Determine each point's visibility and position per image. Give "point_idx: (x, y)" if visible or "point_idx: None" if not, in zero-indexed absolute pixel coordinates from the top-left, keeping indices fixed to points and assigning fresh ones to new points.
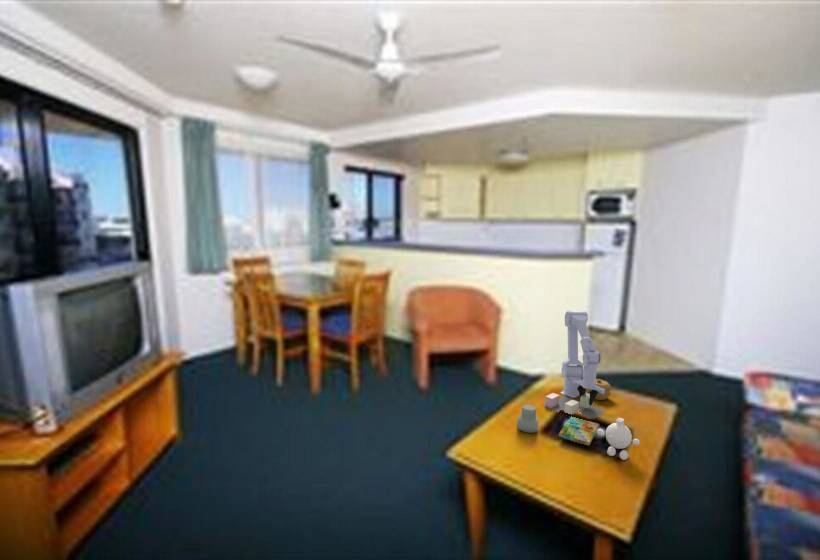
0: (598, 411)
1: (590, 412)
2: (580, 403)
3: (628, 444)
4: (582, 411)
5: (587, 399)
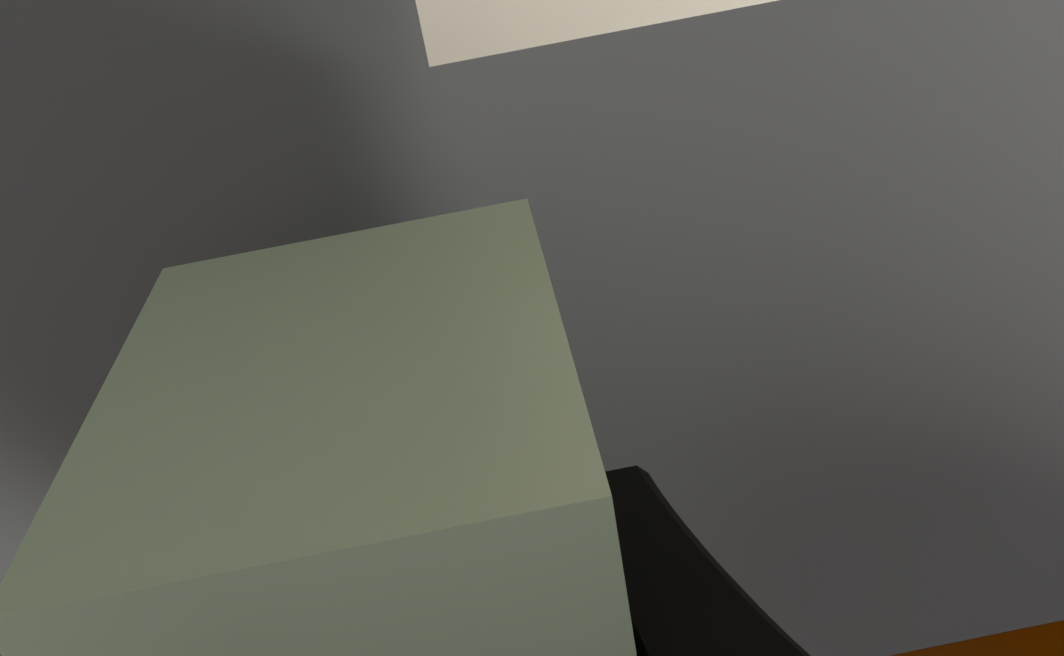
0: None
1: (120, 327)
2: (503, 262)
3: None
4: (324, 116)
5: (1, 597)
